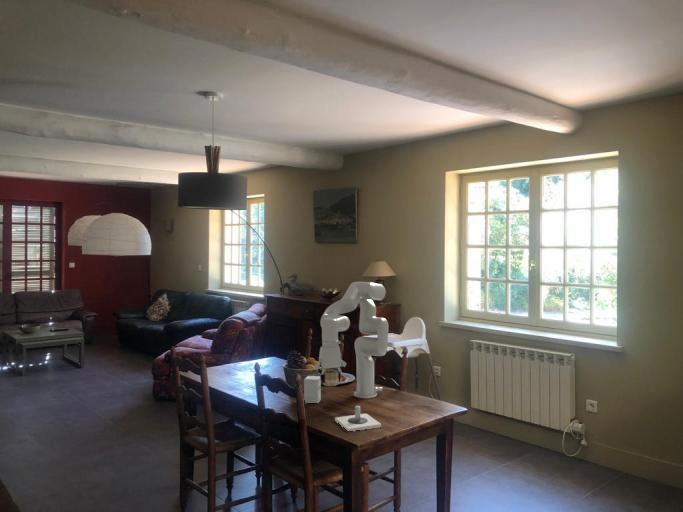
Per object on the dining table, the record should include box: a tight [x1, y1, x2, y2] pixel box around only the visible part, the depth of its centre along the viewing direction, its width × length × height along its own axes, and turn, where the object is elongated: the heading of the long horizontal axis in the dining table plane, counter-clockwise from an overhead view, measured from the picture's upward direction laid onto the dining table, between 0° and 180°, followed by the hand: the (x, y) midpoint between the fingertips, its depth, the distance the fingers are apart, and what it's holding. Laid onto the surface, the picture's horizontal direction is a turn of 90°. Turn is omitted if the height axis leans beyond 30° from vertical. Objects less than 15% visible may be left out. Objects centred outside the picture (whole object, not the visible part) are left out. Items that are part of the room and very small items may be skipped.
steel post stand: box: [334, 405, 382, 432], centre depth 248 cm, size 16×16×8 cm
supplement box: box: [303, 375, 322, 404], centre depth 282 cm, size 7×7×13 cm
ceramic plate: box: [321, 372, 356, 385], centre depth 324 cm, size 26×26×3 cm
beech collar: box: [322, 368, 340, 387], centre depth 258 cm, size 7×7×6 cm
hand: (330, 381), depth 258 cm, fingers closed on beech collar, 7 cm apart
